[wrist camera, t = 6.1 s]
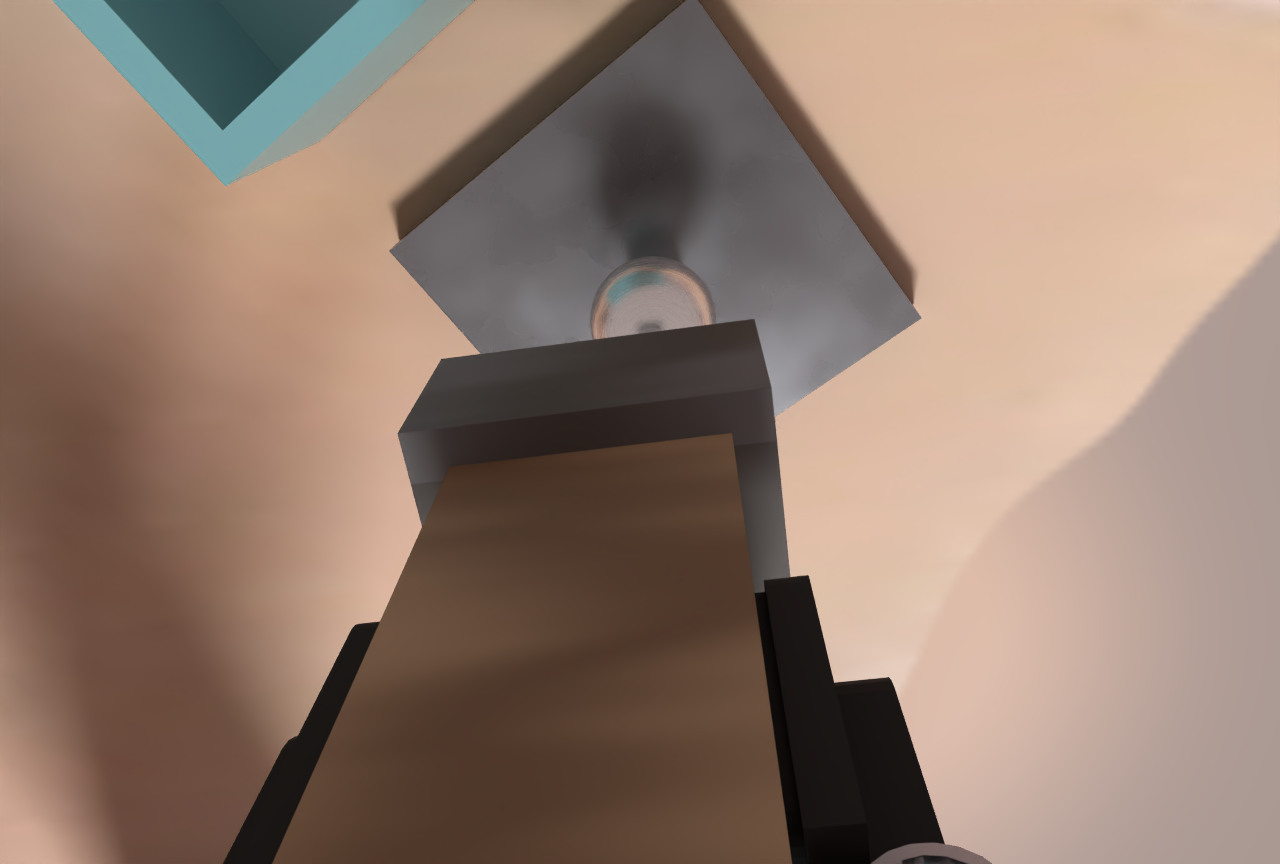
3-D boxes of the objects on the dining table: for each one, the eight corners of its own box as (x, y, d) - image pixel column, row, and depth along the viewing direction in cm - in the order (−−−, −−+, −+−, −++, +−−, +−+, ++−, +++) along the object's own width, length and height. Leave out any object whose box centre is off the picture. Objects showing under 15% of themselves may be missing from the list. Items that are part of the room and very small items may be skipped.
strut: (754, 318, 16) (926, 1003, 5) (782, 589, 19) (946, 1475, 8) (441, 359, 17) (23, 1069, 6) (503, 619, 19) (276, 1499, 8)
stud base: (913, 306, 28) (964, 381, 23) (628, 500, 31) (617, 604, 26) (693, -7, 25) (695, 0, 20) (398, 241, 28) (335, 302, 23)
